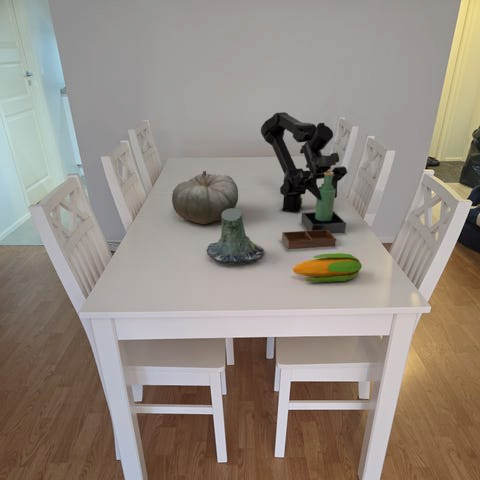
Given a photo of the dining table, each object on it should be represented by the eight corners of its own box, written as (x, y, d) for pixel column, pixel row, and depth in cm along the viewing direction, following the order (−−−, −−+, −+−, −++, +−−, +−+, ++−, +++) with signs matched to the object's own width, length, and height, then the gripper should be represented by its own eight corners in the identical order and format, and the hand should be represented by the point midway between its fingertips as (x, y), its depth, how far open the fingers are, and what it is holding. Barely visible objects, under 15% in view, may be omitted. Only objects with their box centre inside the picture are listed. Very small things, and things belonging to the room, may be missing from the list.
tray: (301, 223, 166) (302, 212, 164) (332, 221, 168) (334, 211, 166) (311, 236, 156) (312, 225, 154) (344, 234, 158) (346, 223, 156)
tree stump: (271, 247, 149) (273, 199, 136) (253, 286, 137) (253, 238, 123) (219, 237, 154) (216, 190, 140) (197, 274, 141) (191, 226, 128)
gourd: (252, 205, 175) (245, 161, 164) (224, 237, 158) (214, 191, 147) (197, 202, 185) (187, 160, 174) (165, 232, 169) (152, 188, 158)
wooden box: (281, 240, 153) (282, 232, 151) (326, 238, 155) (327, 229, 153) (288, 250, 146) (288, 242, 144) (334, 247, 148) (336, 238, 147)
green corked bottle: (315, 220, 158) (320, 174, 149) (314, 214, 163) (319, 169, 154) (332, 221, 157) (338, 175, 149) (331, 215, 162) (337, 170, 154)
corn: (368, 257, 124) (296, 261, 122) (364, 283, 128) (295, 287, 125) (358, 248, 130) (290, 251, 128) (355, 272, 134) (289, 276, 132)
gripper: (300, 146, 147) (315, 190, 144) (348, 141, 153) (363, 183, 151) (287, 165, 157) (300, 206, 155) (332, 160, 163) (345, 199, 161)
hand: (328, 198), depth 155 cm, fingers closed on green corked bottle, 6 cm apart
